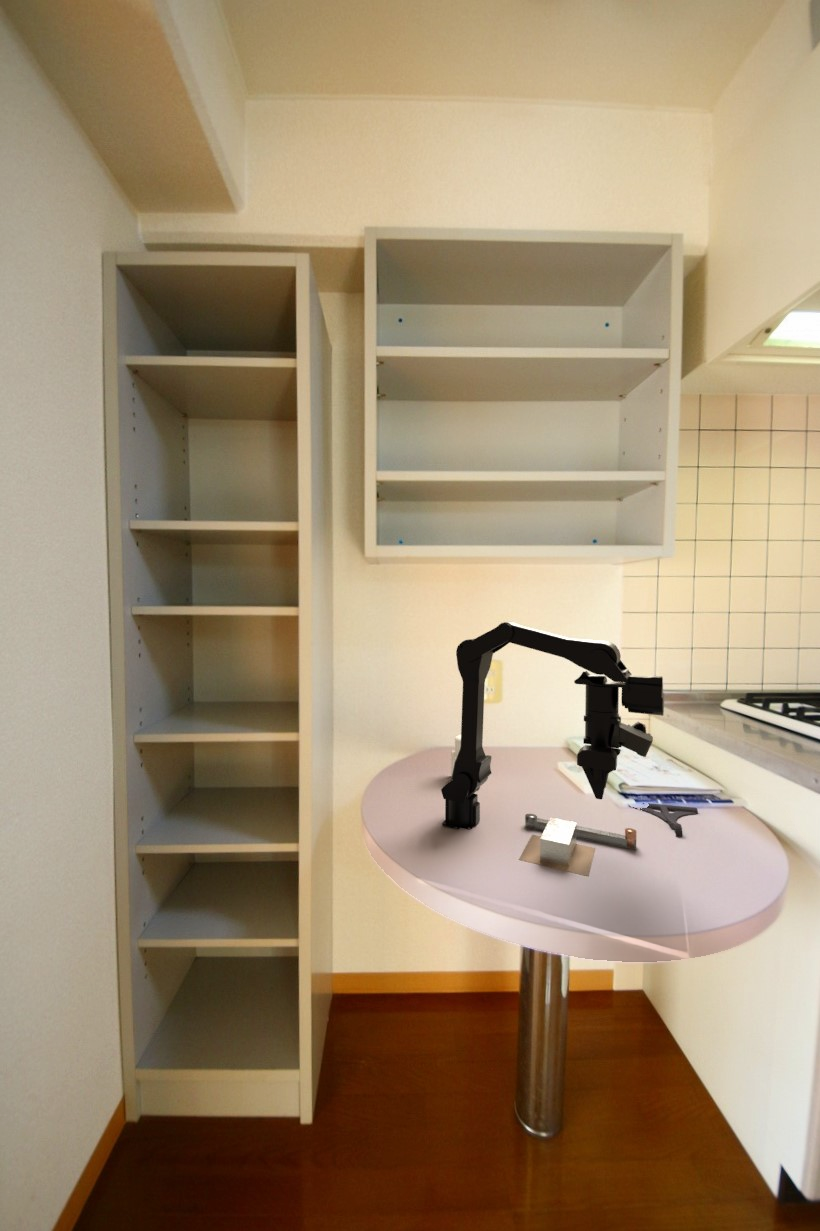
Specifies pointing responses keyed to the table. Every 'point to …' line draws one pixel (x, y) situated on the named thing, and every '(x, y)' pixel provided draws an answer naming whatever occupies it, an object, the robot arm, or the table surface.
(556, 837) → the stone-textured block
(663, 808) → the bracket
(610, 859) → the table surface
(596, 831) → the lever
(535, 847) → the plate
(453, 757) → the medicine bottle
